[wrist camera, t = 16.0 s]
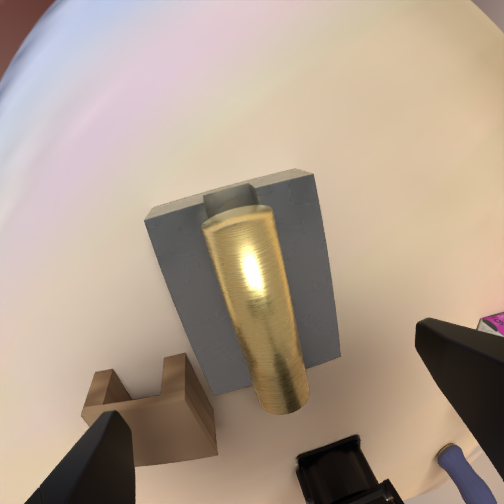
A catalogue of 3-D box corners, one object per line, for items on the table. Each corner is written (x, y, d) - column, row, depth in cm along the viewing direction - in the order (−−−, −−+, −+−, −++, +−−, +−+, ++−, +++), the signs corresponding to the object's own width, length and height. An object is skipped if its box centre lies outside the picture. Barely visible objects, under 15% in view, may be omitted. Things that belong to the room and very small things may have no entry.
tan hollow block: (185, 352, 20) (184, 399, 16) (213, 410, 22) (218, 454, 18) (95, 372, 19) (80, 415, 15) (131, 425, 21) (126, 467, 17)
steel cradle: (294, 168, 17) (313, 173, 14) (324, 331, 21) (340, 356, 18) (153, 207, 16) (143, 220, 14) (211, 364, 20) (213, 395, 18)
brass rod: (203, 216, 14) (199, 239, 12) (266, 200, 14) (278, 218, 12) (256, 383, 19) (262, 419, 16) (303, 371, 19) (314, 406, 16)
